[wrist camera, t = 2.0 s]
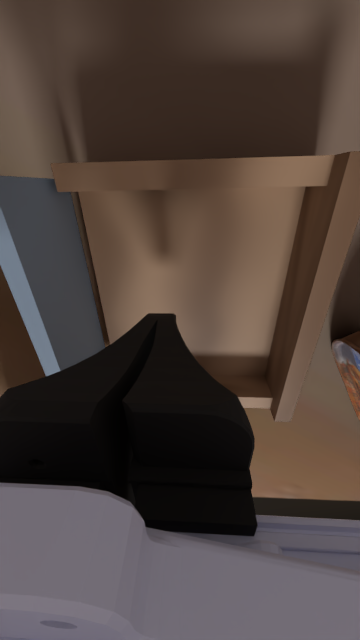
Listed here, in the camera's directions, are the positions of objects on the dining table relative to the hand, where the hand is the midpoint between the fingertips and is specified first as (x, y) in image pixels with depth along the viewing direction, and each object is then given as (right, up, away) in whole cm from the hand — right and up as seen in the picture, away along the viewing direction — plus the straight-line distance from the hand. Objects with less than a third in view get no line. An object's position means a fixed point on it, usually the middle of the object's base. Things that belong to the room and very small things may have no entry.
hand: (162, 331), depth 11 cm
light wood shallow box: (+2, +3, +5) cm, 6 cm away
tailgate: (-4, +2, +3) cm, 6 cm away
